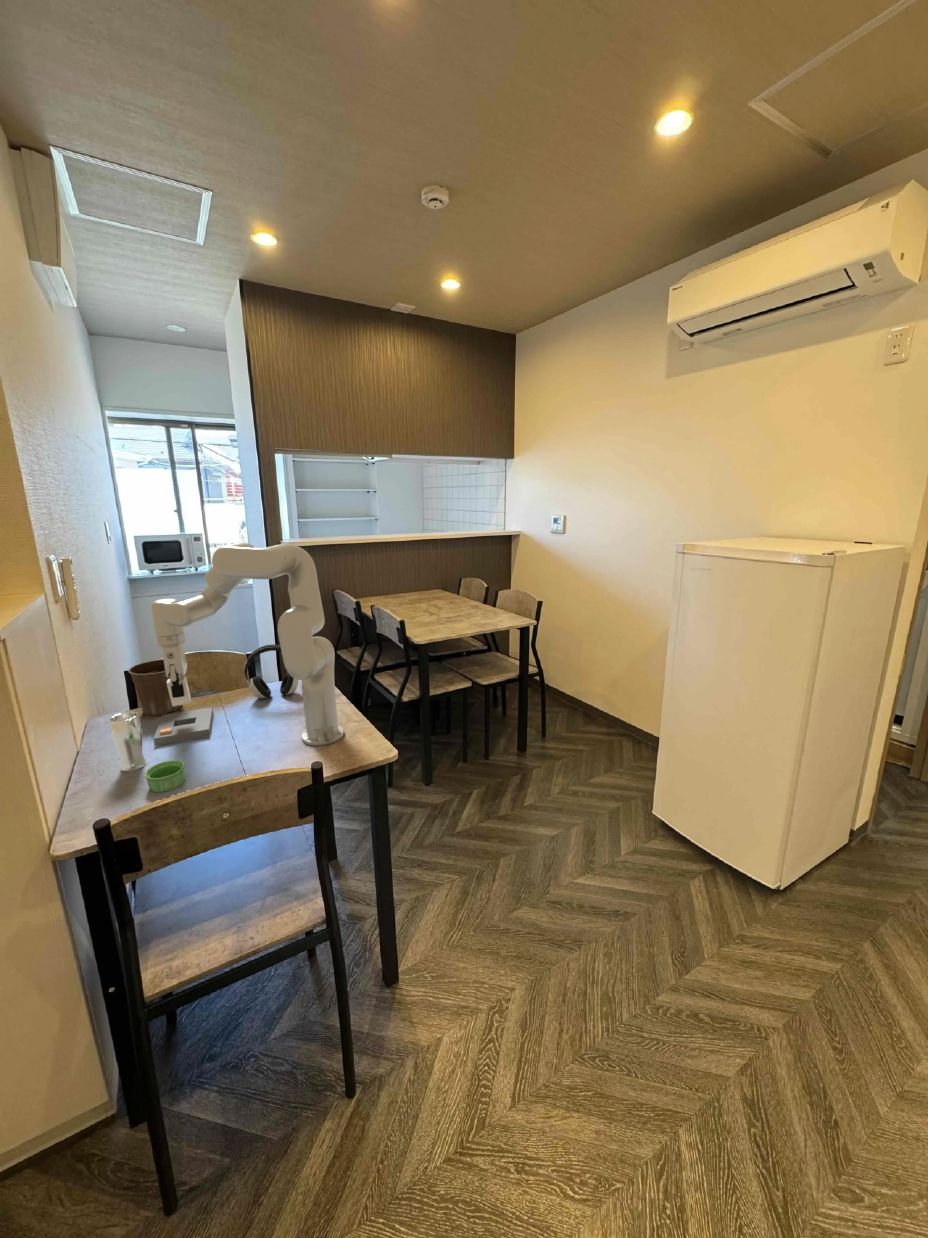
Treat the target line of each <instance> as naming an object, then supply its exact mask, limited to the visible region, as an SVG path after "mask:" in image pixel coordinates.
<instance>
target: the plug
mask: <svg viewBox="0 0 928 1238" xmlns="http://www.w3.org/2000/svg"><path fill="white" fill-rule="evenodd" d="M176 675H178V674H176ZM177 679H178V678H177ZM178 680H179V679H178ZM181 683H182V684H183V689H184V696H183V697H176V698H173V696H172V690H171V681H170V679H168V680H167V687H168V691H169V695H170V699H171V703H172V706H177V705H182V706H183V705H186V704H190V703H191V702H192V697H191V692H190V688H189V685H188V680H187V676H186V675H184V676H182V677H181Z"/></svg>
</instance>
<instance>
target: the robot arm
mask: <svg viewBox="0 0 928 1238" xmlns="http://www.w3.org/2000/svg"><path fill="white" fill-rule="evenodd" d="M314 561H315V560H313V558H312V556H311V555H310V553H309V552H308V551H306V550H305V549H304V548H302V547H300V546H298V545H296V544H290V543H281V544H275V545H272V546H267V547H261V548H260V547H259V548H258V547H255V546H254V545H252V544H250V543H247V542H237V543H230V544H224V545H222V546H220V547H218V548H217V549H216V550H215V551H214V552H213V555H212V556H211V563H212V564H211V565H212V566H211V567H210V568H209V570H208V571H206V573H205V575H204V580H205V582H206V584H207V587H205V588H204V589H203V591H202V592H201V593H200V594H198V595H197V596H195V597H194V596H193V597H191V598H187V599H184V600H182V601H179V600H177V599H176V598H162V599H161V598H160V599H157V600H155V601H152V602H151V606H150V608H151V615H152V620H153V625H154V632H155V638H156V644H157V647H159V648H161V650H162V651H161V652H162V659H163V660H164V666H165V672H166V676H167V677H168V678H169V677H170V681H171V690H172V696H173V698H176V697H183V696H184V689H183V684H182V683H181V677H182V676H186V673H187V671H188V663H187V657H186V653H185V648H184V644H185V643H186V638H185V637H186V636H185V632H184V631H185V630H184V628H185V627H190V626H191V625H195V624H197V623H200V622H203V621H205V620H208V619H209V618H211V617H213V615H215V614H216V613H217V612H218V611H220V610H221V608H223V607H224V605H225V604H226V603H227V602H228V600H229V599H230V597H231V594H232V592H233V590H234V589H236V588H237V586H239V585H240V584H241V583H242V582H243V581H244V580H245V579H250V580H271V579H276V578H278V577H281V576H284V575H287V576H288V585H287V591H288V595H289V597H288V598H289V601H290V608H289V609H286V611H284V612H283V613H282V614H281V616H280V617H279V619H278V622H277V634H278V640H279V645H280V646H281V651H282V652H281V655H282V660H283V665H284V668H285V669H286V671H287V672H288V673H289V674H290V675H291V676H292V677H293V678H295V679H297V680H298V681H301V693H302V701H303V711H304V721H305V722H304V723H305V730H304V731H303V732H302V733H301V741H302V742H303V743H305V744H306V745H309V746H325V745H330V744H333V743H335V742H337V741H339V740H340V739H341V738H342V737H343V736H344V734H345V733H344V727H342V726H341V725H339V723H338V721H339V720H338V710H337V709H338V708H337V698H336V685H335V658H336V657H335V656H336V655H335V648H334V646H333V644H332V642H331V641H330V640H329V639H327V638H326V637H323V636H318V635H317V636H314V635H315V634H317V633H319V632H320V631H321V630H322V629H323V627H324V625H325V622H326V620H325V619H326V618H325V614H324V608H323V604H322V597H321V591H320V587H319V580H318V573H317V568H316V565H315V562H314ZM287 672H286V673H287ZM176 674H178V675H176ZM177 678H178V679H179V680H178V679H177Z"/></svg>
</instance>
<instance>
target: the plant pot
mask: <svg viewBox="0 0 928 1238" xmlns="http://www.w3.org/2000/svg"><path fill="white" fill-rule="evenodd" d="M127 672H128V673H129V674H130V675H131V680H132V682H133V683H134V687H135V689H136V693H137V697H138V701H139V704H140V707H141V708H140V709H141V712H142V714H144V715H146V716H150V717H151V716H153V717H155V716H156V715H158V716H162V714H164V715H166V714H165V713H168V714H170V713H171V712H173V711H174V712H176V711H178V710H179V709H181V708H182V706H183V704H182V705H177V706H172V703H171V699H170V695H169V691H168V687H167V680H168V679H170V677H169V678H168V677H167V676H166V672H165V666H164V660H163V658H162V659H154V660H149V661H144V662H141V663H138V664H134V665H132V666H131V667H129V669H128V671H127Z"/></svg>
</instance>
